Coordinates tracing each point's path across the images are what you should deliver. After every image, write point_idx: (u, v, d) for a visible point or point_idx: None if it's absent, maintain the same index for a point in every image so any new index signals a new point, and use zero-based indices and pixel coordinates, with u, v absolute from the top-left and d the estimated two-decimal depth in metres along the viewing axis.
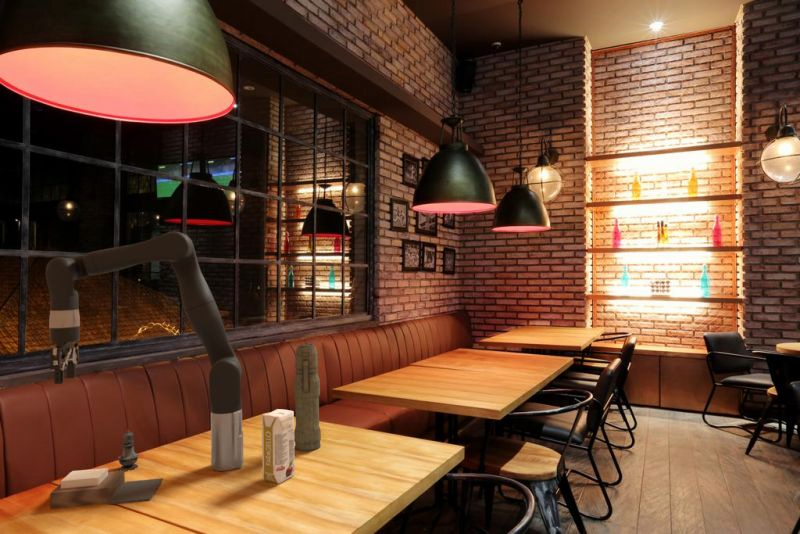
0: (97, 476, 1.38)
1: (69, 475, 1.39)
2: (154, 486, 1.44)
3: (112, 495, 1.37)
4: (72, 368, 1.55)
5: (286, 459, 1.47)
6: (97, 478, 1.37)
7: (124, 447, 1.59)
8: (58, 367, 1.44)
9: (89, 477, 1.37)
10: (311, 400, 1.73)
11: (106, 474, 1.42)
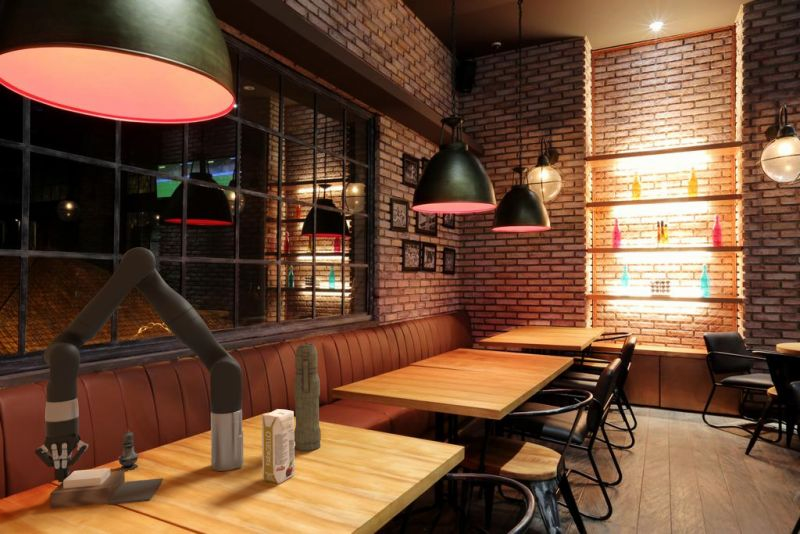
0: (99, 476, 1.38)
1: (71, 475, 1.39)
2: (154, 486, 1.44)
3: (112, 495, 1.37)
4: None
5: (286, 459, 1.47)
6: (99, 478, 1.37)
7: (124, 447, 1.59)
8: (77, 460, 1.40)
9: (91, 477, 1.37)
10: (311, 400, 1.73)
11: (108, 474, 1.43)
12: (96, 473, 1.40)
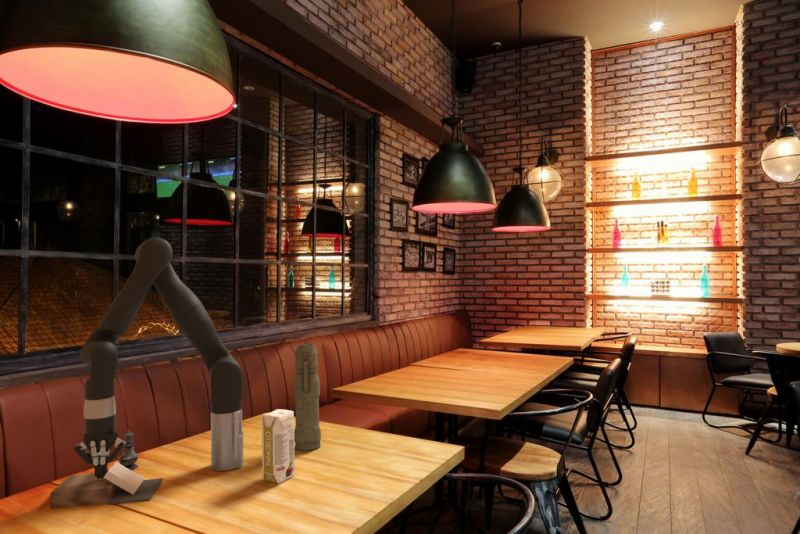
0: (136, 485, 1.40)
1: (114, 467, 1.41)
2: (154, 486, 1.44)
3: (112, 495, 1.37)
4: None
5: (286, 459, 1.47)
6: (136, 488, 1.39)
7: (124, 447, 1.59)
8: (114, 456, 1.42)
9: (130, 482, 1.39)
10: (311, 400, 1.73)
11: None
12: (134, 479, 1.42)
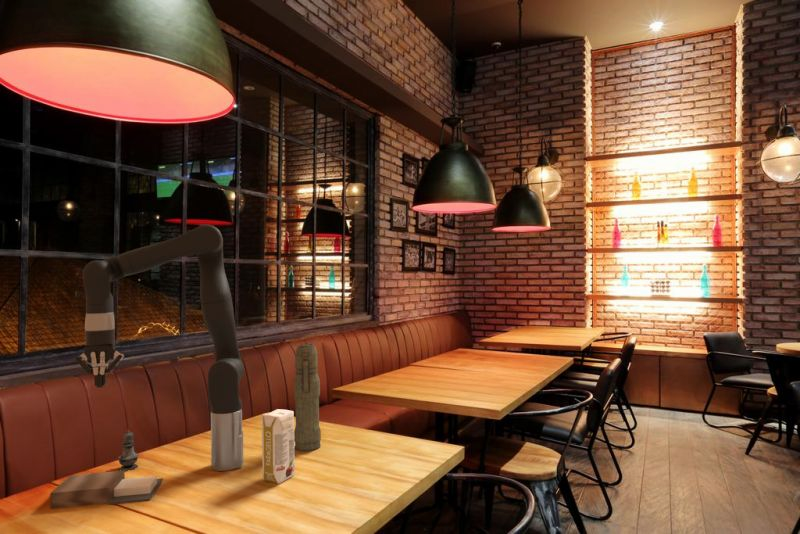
0: (148, 484, 1.40)
1: (120, 483, 1.41)
2: None
3: (112, 495, 1.37)
4: None
5: (286, 459, 1.47)
6: (148, 486, 1.39)
7: (124, 447, 1.58)
8: (113, 368, 1.53)
9: (140, 485, 1.40)
10: (311, 400, 1.73)
11: (155, 482, 1.45)
12: (144, 481, 1.42)
